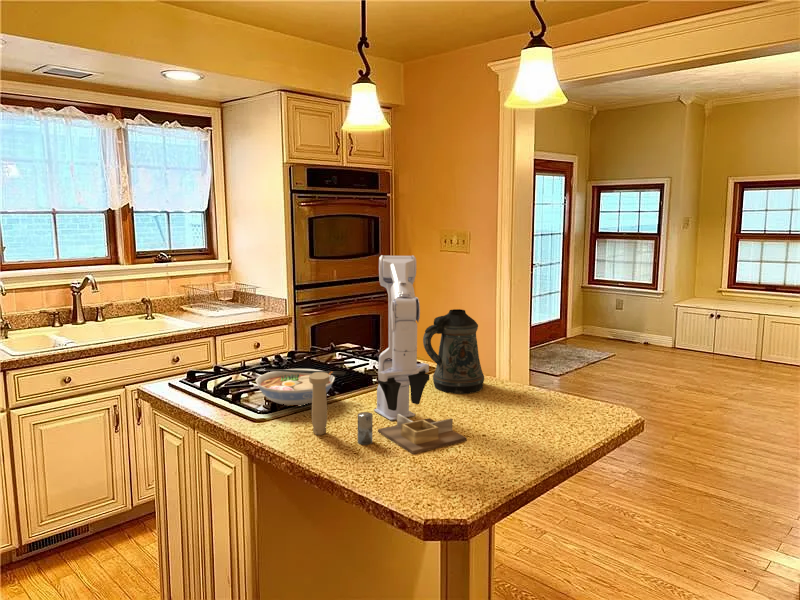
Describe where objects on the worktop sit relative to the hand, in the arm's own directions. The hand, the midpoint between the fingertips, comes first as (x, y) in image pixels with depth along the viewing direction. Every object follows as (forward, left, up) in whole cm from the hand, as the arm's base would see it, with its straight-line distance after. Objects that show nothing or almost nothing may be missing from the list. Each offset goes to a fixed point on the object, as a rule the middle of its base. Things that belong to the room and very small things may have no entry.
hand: (404, 406), depth 140 cm
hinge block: (-4, +8, -11) cm, 14 cm away
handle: (-19, -13, -11) cm, 26 cm away
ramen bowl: (-44, -9, -11) cm, 46 cm away
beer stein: (-33, +41, -11) cm, 54 cm away
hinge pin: (-8, -6, -11) cm, 15 cm away
